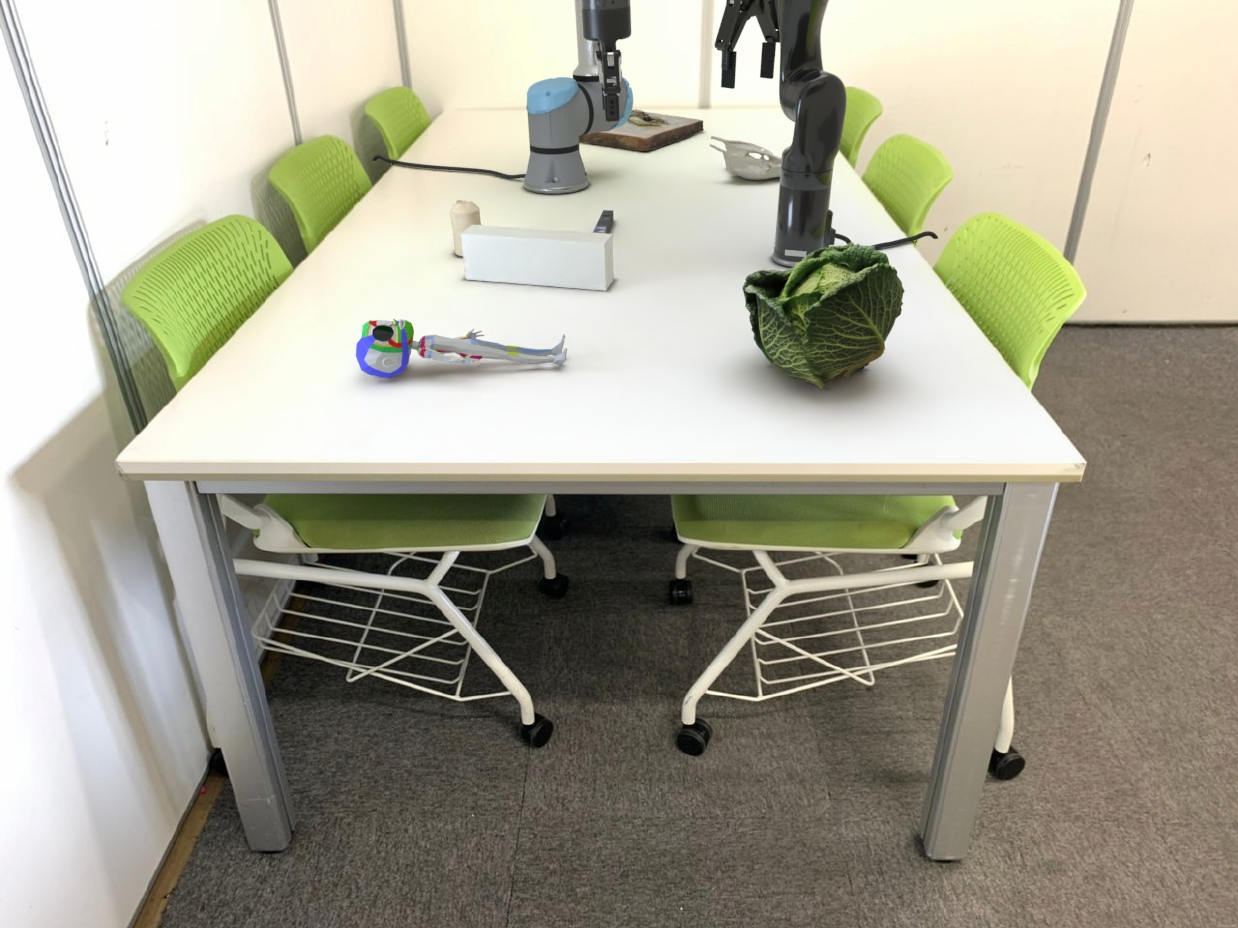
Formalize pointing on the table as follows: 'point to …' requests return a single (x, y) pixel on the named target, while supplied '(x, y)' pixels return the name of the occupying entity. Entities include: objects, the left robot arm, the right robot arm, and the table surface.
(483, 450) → the table surface
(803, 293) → the vegetable
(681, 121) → the plaque
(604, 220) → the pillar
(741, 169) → the anatomical model
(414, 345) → the toy
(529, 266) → the bar
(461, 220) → the candle
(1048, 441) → the table surface
